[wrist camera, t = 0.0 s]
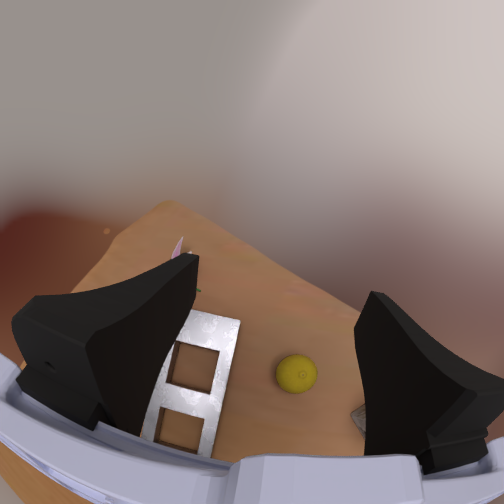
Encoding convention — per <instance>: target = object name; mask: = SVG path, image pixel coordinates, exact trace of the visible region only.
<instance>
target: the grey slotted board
mask: <svg viewBox="0 0 504 504" xmlns="http://www.w3.org/2000/svg"><path fill="white" fill-rule="evenodd" d="M239 327H240V320H236V319H231V318H227V317H222V316H218V315H213V314H209V313H205V312H201V311H197V310H193V309H191V311H190V314H189V316H188V318H187V320H186V322H185V324H184V326H183V327H182V329H181V331H180V333H179V335H178V337H177V339H176V340H175V342H174V344H173V346H172V348H171V350H170V352H169V353H168V355H167V357H166V360H165V362H164V364H163V367H162V369H161V372H160V374H159V377H158V380H157V382H156V385H155V388H154V391H153V394H152V397H151V400H150V403H149V406H148V409H147V412H146V416H145V420H144V425H143V431H142V436H141V438H143V439H145V440H148V441H151V442H154V443H157V444H160V445H164V446H167V447H170V448H173V449H177V450H180V451H184V452H188V453H191V454H195V455H199V456H204V457H208V458H211V453H212V449H213V444H214V440H215V436H216V431H217V427H218V422H219V418H220V413H221V409H222V404H223V400H224V395H225V391H226V386H227V382H228V377H229V372H230V368H231V363H232V359H233V354H234V350H235V345H236V341H237V336H238V332H239ZM180 342H182V343H186V344H190V345H194V346H198V347H202V348H206V349H210V350H214V351H218V352H220V354H219V358H218V363H217V367H216V372H215V376H214V381H213V385H212V390H211V392H207V391H203V390H199V389H195V388H192V387H188V386H184V385H181V384H177V383H174V382H171V379H172V374H173V370H174V366H175V361H176V357H177V353H178V349H179V345H180ZM165 408H167V409H171V410H174V411H178V412H181V413H185V414H188V415H192V416H196V417H200V418H204V419H205V421H204V426H203V430H202V435H201V440H200V444H199V449H198V451H195V450H191V449H188V448H184V447H180V446H177V445H173V444H170V443H167V442H163V441H160V440H159V435H160V430H161V425H162V420H163V415H164V410H165Z"/></svg>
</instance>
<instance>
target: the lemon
mask: <svg viewBox="0 0 504 504" xmlns="http://www.w3.org/2000/svg"><path fill="white" fill-rule="evenodd" d="M276 379H277V382H278V384H279V385H280V387H281V388H282V389H284V390H285V391H287V392H289V393H294V394H296V393H303V392H305V391H307V390H309V389H310V388H311V387H312V386H313V385H314V383H315V382H316V379H317V368H316V366H315V364H314V362H313V361H312V360H311V359H310V358H308V357H306V356H303V355H298V354H296V355H291V356H288V357H286V358H285V359H283V360H282V361H281V362H280V364H279V365H278V367H277V371H276Z"/></svg>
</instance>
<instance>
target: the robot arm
mask: <svg viewBox="0 0 504 504" xmlns="http://www.w3.org/2000/svg"><path fill="white" fill-rule="evenodd" d="M198 264H199V255H194V254H190V253H183V254H181V255H178V256H177V257H175V258H173V259H171V260H169V261H167V262H165V263H163V264H161V265H159V266H157V267H155V268H153V269H151V270H149V271H147V272H144V273H142V274H140V275H138V276H136V277H133V278H131V279H128V280H125V281H123V282H120V283H117V284H113V285H110V286H106V287H102V288H98V289H94V290H90V291H84V292H78V293H71V294H62V295H42V296H34V297H33V298H32V299H31V300H30V301H29V302H28V303H27V304H26V305H25V306H24V307H23V308H22V309H21V310H20V311H19V312H17V313H16V315H14V316H13V318H12V322H11V323H12V332H13V335H14V338H15V340H16V342H17V345H18V347H19V349H20V351H21V353H22V355H23V357H24V360H25V362H26V364H27V366H26V367H25V368H24V369H23V371H22V370H21V369H20V367H18V365H17V364H15V363H14V362H13V361H11V360H10V359H8V358H7V357H5V356H4V355H3V354H1V353H0V441H1V442H2V443H3V444H5V445H6V446H7V447H8V448H10V449H11V450H12V451H13V452H15V453H16V454H17V455H18V456H20V457H21V458H22V459H24V460H25V461H26V462H28V463H29V464H30V465H32V466H33V467H35V468H36V469H37V470H39V471H40V472H42V473H43V474H45V475H46V476H48V477H49V478H51V479H52V480H54V481H55V482H57V483H59V484H60V485H62V486H64V487H65V488H67V489H69V490H70V491H72V492H74V493H76V494H77V495H79V496H81V497H83V498H85V499H87V500H89V501H90V502H92V503H94V504H487V503H488V502H490V501H492V500H493V499H495V498H497V497H498V496H500V495H502V494H503V493H504V437H500V438H497V439H494V440H492V441H490V442H488V443H485V440H484V438H485V437H487V436H488V431H487V428H486V427H488V426H489V425H490V424H491V423H492V422H493V421H494V420H495V419H496V418H497V417H498V416H499V415H500V414H501V413H502V412H503V410H504V379H502V378H500V377H498V376H495V375H493V374H490V373H488V372H486V371H483V370H481V369H480V368H478V367H476V366H474V365H472V364H470V363H468V362H467V361H465V360H463V359H462V358H460V357H458V356H457V355H455V354H454V353H452V352H451V351H450V350H448V349H447V348H445V347H444V346H443V345H441V344H440V343H439V342H437V341H436V340H435V339H434V338H433V337H431V336H430V335H429V334H428V333H427V332H426V331H425V330H423V329H422V328H421V327H420V326H419V325H418V324H417V323H416V322H415V321H414V320H413V319H412V318H411V317H409V316H408V315H407V314H406V313H405V312H404V311H403V310H402V309H401V308H400V307H399V306H398V305H397V304H396V303H395V302H394V301H393V300H391V299H390V298H389V297H388V296H387V295H385V294H384V293H380V292H374V291H371V292H370V294H369V297H368V299H367V301H366V304H365V305H364V308H363V310H362V312H361V314H360V316H359V319H358V321H357V323H356V325H355V327H354V338H355V349H356V354H357V359H358V364H359V369H360V374H361V379H362V384H363V389H364V396H365V414H366V432H365V449H364V456H321V455H304V454H275V453H266V454H260V455H254V456H247V457H245V458H243V459H241V460H240V461H238V462H237V463H232V462H227V461H222V460H217V459H212V458H208V457H204V456H199V455H195V454H191V453H188V452H184V451H180V450H177V449H173V448H170V447H167V446H164V445H160V444H157V443H154V442H151V441H148V440H145V439H143V438H140V433H141V429H142V426H143V422H144V419H145V416H146V412H147V409H148V406H149V403H150V400H151V397H152V394H153V391H154V388H155V385H156V382H157V380H158V377H159V374H160V372H161V369H162V367H163V364H164V362H165V360H166V357H167V355H168V353H169V352H170V350H171V348H172V346H173V344H174V342H175V340H176V339H177V337H178V335H179V333H180V331H181V329H182V327H183V326H184V324H185V322H186V320H187V318H188V316H189V314H190V311H191V308H192V306H193V303H194V300H195V297H196V287H197V275H198Z"/></svg>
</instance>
